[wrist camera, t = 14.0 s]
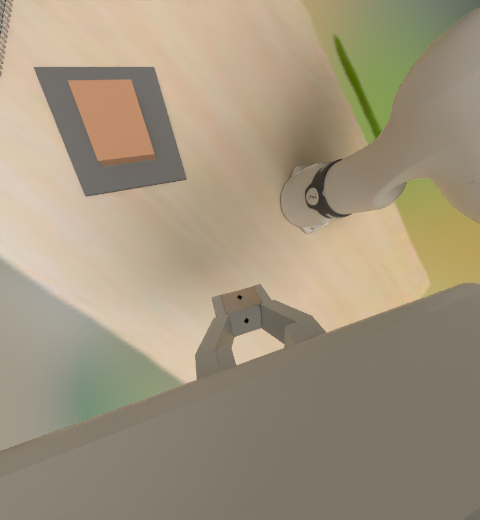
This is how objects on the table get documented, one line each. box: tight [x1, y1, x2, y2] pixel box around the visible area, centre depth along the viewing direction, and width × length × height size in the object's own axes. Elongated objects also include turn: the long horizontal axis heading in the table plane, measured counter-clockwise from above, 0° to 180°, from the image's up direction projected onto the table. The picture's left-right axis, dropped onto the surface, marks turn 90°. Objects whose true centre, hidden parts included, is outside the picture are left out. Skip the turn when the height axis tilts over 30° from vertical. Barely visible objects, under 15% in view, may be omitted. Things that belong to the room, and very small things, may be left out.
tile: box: [68, 79, 156, 167], centre depth 35 cm, size 10×3×13 cm
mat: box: [34, 67, 186, 196], centre depth 36 cm, size 20×22×1 cm
